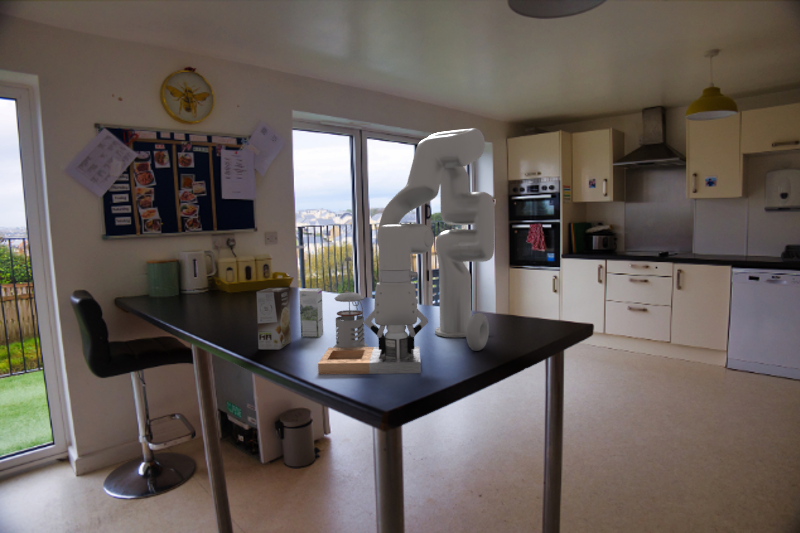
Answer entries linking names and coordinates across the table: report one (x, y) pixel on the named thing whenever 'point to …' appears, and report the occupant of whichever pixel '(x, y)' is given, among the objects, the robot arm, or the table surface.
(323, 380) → the table surface
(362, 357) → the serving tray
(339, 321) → the french press
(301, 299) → the syrup box
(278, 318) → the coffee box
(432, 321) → the table surface
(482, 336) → the donut
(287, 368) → the table surface
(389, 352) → the pill bottle
